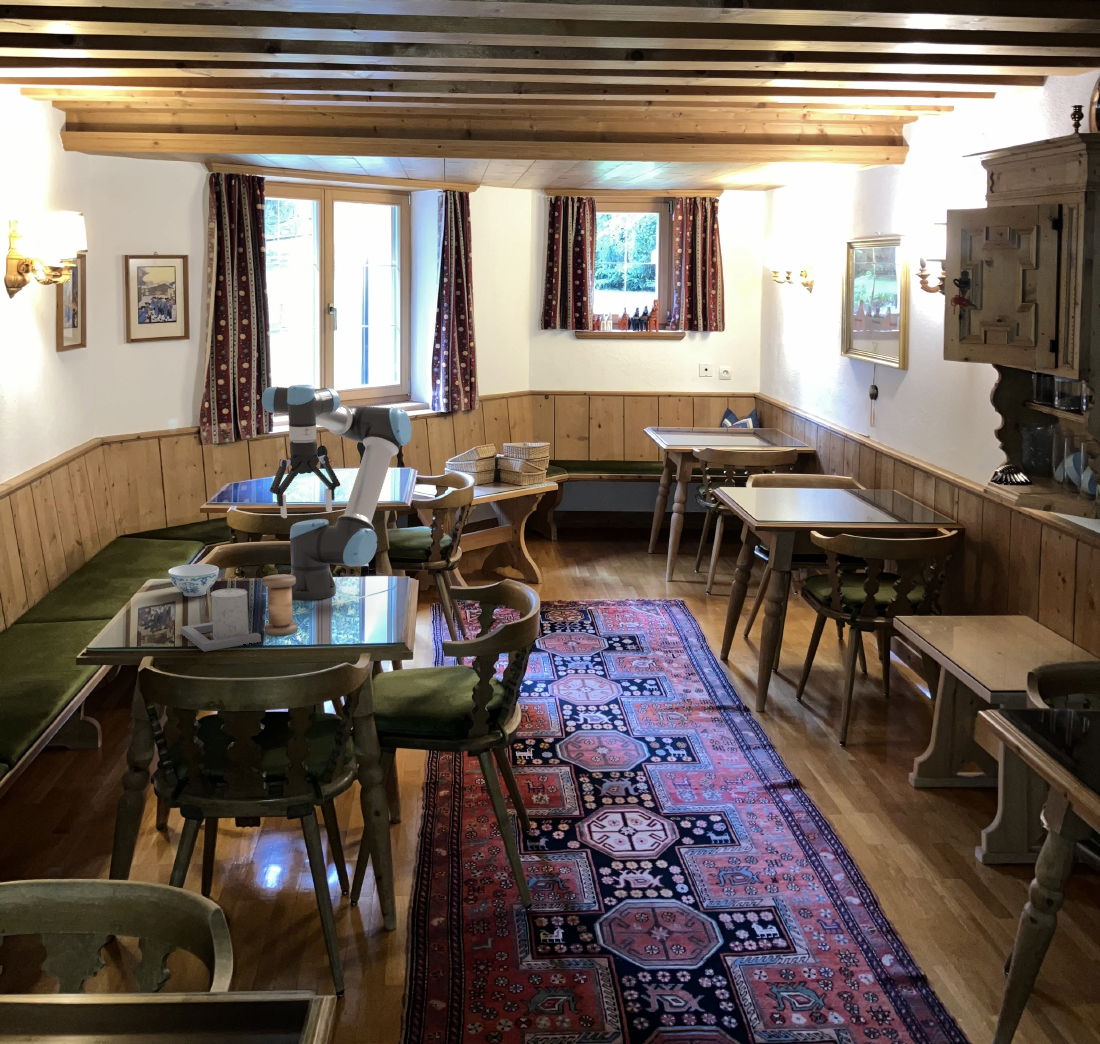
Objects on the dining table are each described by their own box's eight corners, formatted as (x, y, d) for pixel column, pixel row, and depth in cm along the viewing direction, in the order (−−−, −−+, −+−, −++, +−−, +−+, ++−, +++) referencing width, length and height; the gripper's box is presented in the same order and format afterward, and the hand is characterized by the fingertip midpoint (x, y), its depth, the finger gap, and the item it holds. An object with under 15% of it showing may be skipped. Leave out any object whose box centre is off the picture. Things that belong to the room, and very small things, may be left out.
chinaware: (200, 602, 351) (198, 577, 349) (159, 597, 356) (157, 572, 355) (229, 590, 365) (228, 566, 363) (190, 585, 370) (188, 562, 368)
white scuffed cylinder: (256, 634, 319) (254, 590, 317) (233, 643, 311) (231, 598, 308) (228, 629, 323) (226, 586, 321) (205, 638, 315) (203, 594, 312)
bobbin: (259, 629, 324) (257, 577, 321) (289, 624, 329) (288, 572, 326) (271, 637, 316) (269, 583, 314) (302, 632, 322) (300, 579, 319)
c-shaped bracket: (181, 633, 319) (180, 626, 318) (235, 625, 327) (235, 618, 327) (204, 651, 303) (203, 644, 303) (261, 642, 312) (260, 634, 312)
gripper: (265, 446, 316) (269, 522, 321) (349, 438, 330) (352, 511, 335) (255, 442, 323) (259, 517, 327) (339, 435, 336) (342, 507, 341)
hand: (306, 514), depth 331 cm, fingers open, 13 cm apart
